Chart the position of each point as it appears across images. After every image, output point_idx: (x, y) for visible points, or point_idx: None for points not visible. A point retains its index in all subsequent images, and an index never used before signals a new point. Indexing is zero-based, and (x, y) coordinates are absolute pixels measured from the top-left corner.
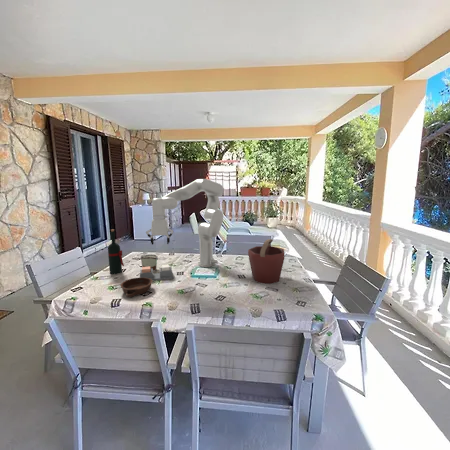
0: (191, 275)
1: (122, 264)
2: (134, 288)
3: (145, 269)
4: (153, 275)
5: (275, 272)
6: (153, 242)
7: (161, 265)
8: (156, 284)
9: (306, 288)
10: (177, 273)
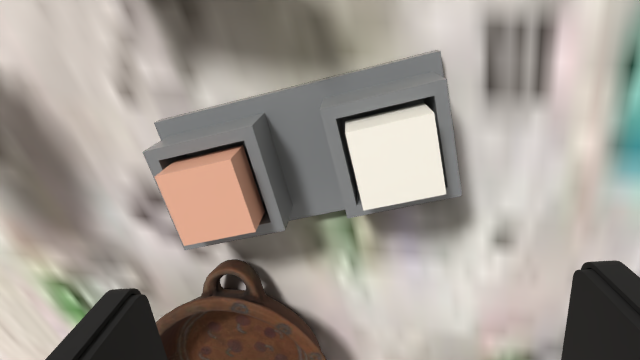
0: (621, 123)
1: None
2: None
3: (214, 238)
4: (278, 143)
5: None
6: (133, 331)
7: (347, 138)
8: (341, 279)
9: None
10: (488, 61)
